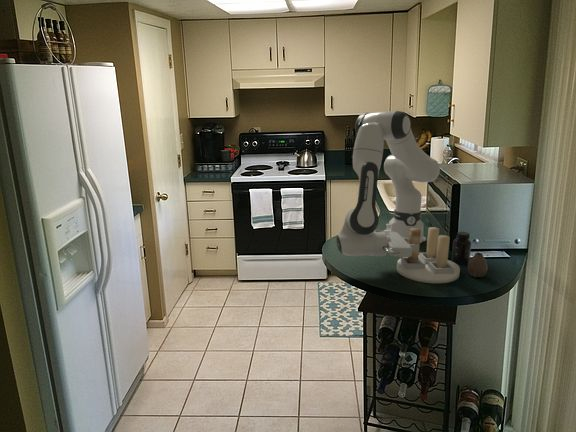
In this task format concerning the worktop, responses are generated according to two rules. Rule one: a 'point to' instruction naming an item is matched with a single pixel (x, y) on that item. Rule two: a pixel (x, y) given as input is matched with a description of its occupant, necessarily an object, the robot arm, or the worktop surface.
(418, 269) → the stool seat
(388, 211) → the worktop surface
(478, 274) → the vase
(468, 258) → the supplement bottle
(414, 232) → the stool leg
